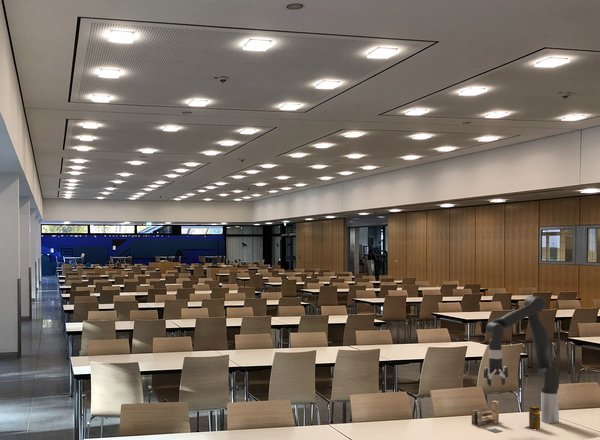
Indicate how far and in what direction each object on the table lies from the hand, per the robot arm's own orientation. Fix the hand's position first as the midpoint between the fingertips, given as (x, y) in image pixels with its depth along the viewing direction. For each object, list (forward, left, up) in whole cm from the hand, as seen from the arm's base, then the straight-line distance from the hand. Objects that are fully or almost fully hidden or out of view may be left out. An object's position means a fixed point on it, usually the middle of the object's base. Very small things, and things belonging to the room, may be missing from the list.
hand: (496, 385), depth 368 cm
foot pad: (+9, +7, -23) cm, 26 cm away
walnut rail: (+2, -8, -23) cm, 25 cm away
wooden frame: (+2, -5, -23) cm, 23 cm away
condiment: (-15, +13, -24) cm, 31 cm away
